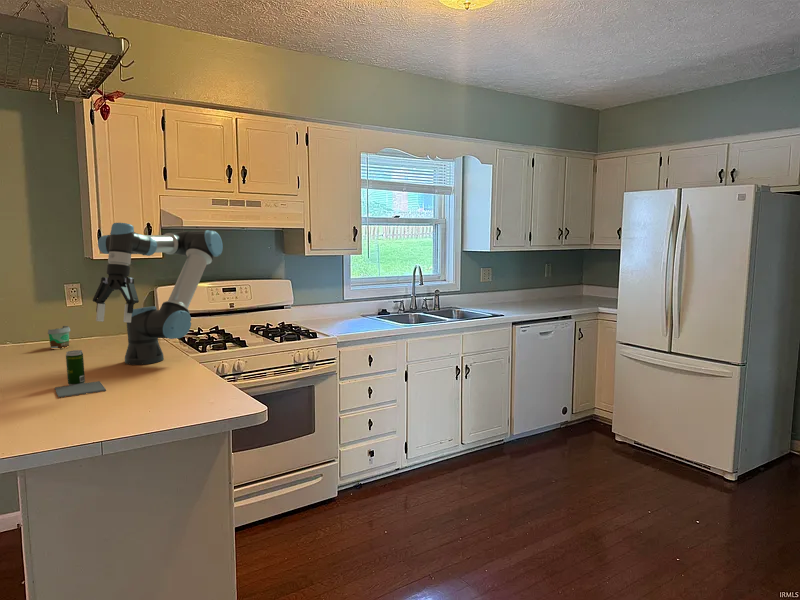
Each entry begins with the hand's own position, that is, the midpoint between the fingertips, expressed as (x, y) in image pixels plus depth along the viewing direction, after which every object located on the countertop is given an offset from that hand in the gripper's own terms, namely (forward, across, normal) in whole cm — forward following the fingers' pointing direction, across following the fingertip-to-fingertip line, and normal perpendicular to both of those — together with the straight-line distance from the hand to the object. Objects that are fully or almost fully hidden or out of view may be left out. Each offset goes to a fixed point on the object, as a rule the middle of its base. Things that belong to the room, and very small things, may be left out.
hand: (113, 321), depth 205 cm
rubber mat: (+24, -1, -10) cm, 26 cm away
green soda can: (+23, -9, -5) cm, 26 cm away
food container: (+12, -78, +41) cm, 89 cm away
